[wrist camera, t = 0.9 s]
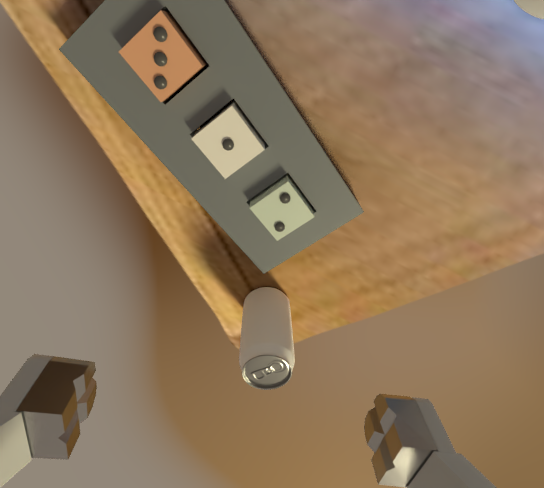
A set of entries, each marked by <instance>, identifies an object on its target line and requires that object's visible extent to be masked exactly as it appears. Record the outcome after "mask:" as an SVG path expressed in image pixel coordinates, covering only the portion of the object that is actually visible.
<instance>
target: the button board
mask: <svg viewBox="0 0 544 488" xmlns="http://www.w3.org/2000/svg"><path fill="white" fill-rule="evenodd" d="M160 10H162V11H165V12H170V13H171V14H172V15H173V17H174V18H175V19H176V21H177V22H178V23H179V25H180V26H181V27H182V29H183V30H184V32H185V33H186V34H187V36H188V37H189V38H190V40H191V41H192V42H193V44H194V45H195V47H196V48H197V49H198V51H199V52H200V53H201V55H202V56H203V57H204V59H205V60H206V61H207V63H208V64H209V67H208V68H207V69H206V70H204V71H203V72H202V73H201V74H200V75H199V76H198V77H196V78H195V79H194V80H193V81H192V82H191V83H190V84H188V85H187V86H186V87H185V88H184V89H183V90H182V91H180V92H179V93H178V94H177V95H176V96H175V97H174V98H172V99H171V98H170V97H169V98H168V99H166V100H165V101H163V102H160V101H159V100H158V99H157V97H156V96H155V95H154V94H153V93H152V91H151V90H150V89H149V88H148V87H147V85H146V84H145V83H144V82H143V81H142V79H141V78H140V77H139V76H138V75H137V73H136V72H135V71H134V70H133V69H132V68H131V66H130V65H129V64H128V63H127V62H126V60H125V59H124V58H123V57H122V56H121V54H120V53H119V51H120V50H121V49H122V48H123V47H124V46H125V45H126V44H127V43H128V42H129V41H130V40H131V39H132V38H133V37H134V36H135V35H136V34H137V33H138V32H139V31H140V30H141V29H142V28H143V27H144V26H145V25H146V24H147V23H148V22H149V21H150V20H151V19H152V18H153V17H154V16H155V15H156V14H157V13H158V12H159V11H160ZM59 50H60V51H61V52H62V53H63V54H64V55H65V57H66V58H67V59H68V60H69V61H70V62H71V63H72V64H73V65H74V66H75V67H76V69H77V70H78V71H79V72H80V73H81V74H82V75H83V76H84V77H85V78H86V80H87V81H88V82H89V83H90V84H91V85H92V86H93V87H94V88H95V89H96V91H97V92H98V93H99V94H100V95H101V96H102V97H103V98H104V99H105V100H106V101H107V103H108V104H109V105H110V106H111V107H112V108H113V109H114V110H115V111H116V112H117V114H118V115H119V116H120V117H121V118H122V119H123V120H124V121H125V122H126V123H127V124H128V126H129V127H130V128H131V129H132V130H133V131H134V132H135V133H136V134H137V135H138V137H139V138H140V139H141V140H142V141H143V142H144V143H145V144H146V145H147V146H148V148H149V149H150V150H151V151H152V152H153V153H154V154H155V155H156V156H157V157H158V158H159V160H160V161H161V162H162V163H163V164H164V165H165V166H166V167H167V168H168V169H169V171H170V172H171V173H172V174H173V175H174V176H175V177H176V178H177V179H178V180H179V182H180V183H181V184H182V185H183V186H184V187H185V188H186V189H187V190H188V191H189V192H190V194H191V195H192V196H193V197H194V198H195V199H196V200H197V201H198V202H199V203H200V205H201V206H202V207H203V208H204V209H205V210H206V211H207V212H208V213H209V214H210V216H211V217H212V218H213V219H214V220H215V221H216V222H217V223H218V224H219V225H220V226H221V228H222V229H223V230H224V231H225V232H226V233H227V234H228V235H229V236H230V237H231V239H232V240H233V241H234V242H235V243H236V244H237V245H238V246H239V247H240V248H241V250H242V251H243V252H244V253H245V254H246V255H247V256H248V257H249V258H250V259H251V260H252V262H253V263H254V264H255V265H256V266H257V267H258V268H259V269H260V270H261V271H262V273H263V274H264V273H266V272H268V271H269V270H271V269H272V268H274V267H276V266H277V265H279V264H281V263H282V262H284V261H285V260H287V259H289V258H290V257H292V256H293V255H295V254H297V253H298V252H300V251H302V250H303V249H305V248H306V247H308V246H310V245H311V244H313V243H315V242H316V241H318V240H319V239H321V238H323V237H324V236H326V235H328V234H329V233H331V232H332V231H334V230H336V229H337V228H339V227H341V226H342V225H344V224H345V223H347V222H349V221H350V220H352V219H354V218H355V217H357V216H358V215H360V214H362V213H363V212H364V211H363V210H362V208H361V206H360V204H359V203H358V201H357V200H356V198H355V196H354V195H353V193H352V192H351V190H350V189H349V187H348V186H347V184H346V183H345V181H344V180H343V178H342V177H341V175H340V174H339V172H338V171H337V169H336V168H335V166H334V165H333V163H332V162H331V160H330V159H329V157H328V155H327V154H326V152H325V151H324V149H323V148H322V146H321V145H320V143H319V142H318V140H317V139H316V137H315V136H314V134H313V133H312V131H311V130H310V128H309V127H308V125H307V124H306V122H305V121H304V119H303V118H302V116H301V114H300V113H299V111H298V110H297V108H296V107H295V105H294V104H293V102H292V101H291V99H290V98H289V96H288V95H287V93H286V92H285V90H284V89H283V87H282V86H281V84H280V83H279V81H278V80H277V78H276V77H275V75H274V73H273V72H272V70H271V69H270V67H269V66H268V64H267V63H266V61H265V60H264V58H263V57H262V55H261V54H260V52H259V51H258V49H257V48H256V46H255V45H254V43H253V42H252V40H251V39H250V37H249V36H248V34H247V32H246V31H245V29H244V28H243V26H242V25H241V23H240V22H239V20H238V19H237V17H236V16H235V14H234V13H233V11H232V10H231V8H230V7H229V5H228V4H227V2H226V1H225V0H105V1H104V2H103V3H102V4H101V5H100V6H99V7H98V8H97V9H96V10H95V11H94V12H93V14H92V15H91V16H90V17H89V18H88V19H87V20H86V21H85V22H84V23H83V24H82V25H81V26H80V27H79V28H78V29H77V31H76V32H75V33H74V34H73V35H72V36H71V37H70V38H69V39H68V40H67V41H66V42H65V43H64V44H63V45H62V46H61V48H60V49H59ZM232 99H234V100H235V101H236V102H237V104H238V105H239V106H240V108H241V109H242V110H243V112H244V113H245V115H246V116H247V117H248V119H249V120H250V121H251V123H252V124H253V125H254V127H255V128H256V130H257V131H258V132H259V134H260V135H261V136H262V138H263V139H264V140H265V150H264V151H262V152H261V153H260V154H258V155H257V156H256V157H254V158H253V159H252V160H250V161H249V162H248V163H246V164H245V165H244V166H242V167H241V168H239V169H238V170H237V171H235V172H234V173H233V174H231V175H230V176H229V177H227V178H226V179H225V178H224V177H223V176H222V175H221V174H220V172H219V171H218V170H217V169H216V168H215V166H214V165H213V164H212V163H211V162H210V161H209V159H208V158H207V157H206V156H205V155H204V153H203V152H202V151H201V150H200V149H199V147H198V146H197V145H196V144H195V143H194V141H193V140H192V139H191V138H192V137H193V136H194V134H195V133H196V132H197V130H196V129H197V128H198V127H199V126H201V125H202V124H203V123H204V122H205V121H207V120H208V119H209V118H210V117H212V116H213V115H214V114H215V113H216V112H218V111H219V110H220V109H221V108H223V107H224V106H225V105H226V104H227V103H229V102H230V101H231V100H232ZM287 173H289V174H290V176H291V177H292V178H293V180H294V181H295V183H296V184H297V185H298V187H299V188H300V189H301V191H302V192H303V193H304V195H305V196H306V198H307V199H308V200H309V202H310V204H311V206H312V209H313V212H314V216H315V217H314V218H312V219H311V220H309V221H308V222H306V223H305V224H303V225H301V226H300V227H298V228H297V229H295V230H294V231H292V232H291V233H289V234H287V235H286V236H284V237H283V238H281V239H280V240H278V241H277V240H276V239H275V238H274V237H273V236H272V234H271V233H270V232H269V231H268V230H267V228H266V227H265V226H264V225H263V224H262V222H261V221H260V220H259V219H258V218H257V217H256V215H255V214H254V213H253V212H252V211H251V209H250V199H251V198H253V197H254V196H255V195H257V194H258V193H260V192H261V191H263V190H264V189H265V188H267V187H268V186H270V185H271V184H273V183H274V182H275V181H277V180H278V179H280V178H281V177H283V176H284V175H285V174H287Z"/></svg>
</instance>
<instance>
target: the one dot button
mask: <svg viewBox="0 0 544 488" xmlns="http://www.w3.org/2000/svg"><path fill="white" fill-rule="evenodd" d="M191 139H192V140H193V141H194V143H195V144H196V145H197V146H198V147H199V149H200V150H201V151H202V152H203V153H204V155H205V156H206V157H207V158H208V159H209V161H210V162H211V163H212V164H213V165H214V166H215V168H216V169H217V170H218V171H219V172H220V174H221V175H222V176H223V177H224V178H225V179H226V178H227V177H229V176H230V175H231V174H233V173H234V172H235V171H237V170H238V169H239V168H241V167H242V166H244V165H245V164H246V163H248V162H249V161H250V160H252V159H253V158H254V157H256V156H257V155H258V154H260V153H261V152H262V151H264V150H265V142H264V140H263V139H262V138H261V136H260V135H259V134H258V132H257V131H256V129H255V128H254V127H253V125H252V124H251V123H250V121H249V120H248V119H247V117H246V116H245V115H244V113H243V112H242V110H241V109H240V108H239V106H238V105H237V104H236V102H235V101H234V102H232V103H231V104H230V105H229V106H227V107H226V108H225V109H224V110H222V111H221V112H220V113H219V114H218V115H216V116H215V117H214V118H213V119H211V120H210V121H209V122H208V123H207V124H205V125H204V126H203V127H202V128H200V129H199V130H198V131H197V132H196V133H195V134H194V136H193V137H192V138H191Z"/></svg>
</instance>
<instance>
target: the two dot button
mask: <svg viewBox="0 0 544 488" xmlns="http://www.w3.org/2000/svg"><path fill="white" fill-rule="evenodd" d="M250 209H251V211H252V212H253V213H254V214H255V215H256V217H257V218H258V219H259V220H260V221H261V222H262V224H263V225H264V226H265V227H266V228H267V230H268V231H269V232H270V233H271V234H272V236H273V237H274V238H275V239H276V240H277V241H278V240H280V239H281V238H283V237H284V236H286V235H287V234H289V233H291V232H292V231H294V230H295V229H297V228H298V227H300V226H301V225H303V224H305V223H306V222H308V221H309V220H311V219H312V218H314V217H315V216H314V212H313V209H312V206H311V204H310V203H309V201H308V200H307V199H306V197H305V196H304V195H303V193H302V192H301V191H300V189H299V188H298V186H297V185H296V184H295V182H294V181H293V180H292V178H291V177H290V176H289V174H288V173H287V174H285V175H284V176H283V177H281V178H280V179H278V180H277V181H275V182H274V183H273V184H271V185H270V186H268V187H267V188H265V189H264V190H263V191H261V192H260V193H258V194H257V195H255V196H254V197H253V198H251V199H250Z"/></svg>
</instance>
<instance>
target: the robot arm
mask: <svg viewBox="0 0 544 488" xmlns="http://www.w3.org/2000/svg"><path fill="white" fill-rule="evenodd" d="M514 1H515V3H516V4H517V5H518V6H519V7H520V8H521V9H523V10H524V11H525V12H527V13H528V14H530V15H532V16H534V17H537V18H540V19H544V0H514ZM95 371H96V368H95V362H90V361H82V360H76V359H69V358H61V357H54V356H46V355H38V354H34V355H32V356H31V357H30V358H28V359H27V361H26V362H25V363H24V365H23V366H22V368H21V369H20V370H19V371H18V373H17V374H16V375H15V377H14V378H13V379H12V381H11V382H10V384H9V385H8V386H7V388H6V389H5V390H4V392H3V393H2V394H1V396H0V487H2V486H3V484H5V483H6V482H7V481H8V480H10V479H11V478H12V477H13V476H14V475H15V474H16V473H17V472H19V471H20V470H21V469H22V468H23V467H24V466H25V465H27V464H28V463H29V462H30V461H31V460H32V458H49V459H50V458H51V459H69V457H70V455H71V452H72V450H73V448H74V446H75V444H76V442H77V439H78V438H79V435H80V426H79V424H80V423H81V422H83V421H84V420H85V419H87V418H88V416H89V414H90V411H91V409H92V407H93V403H94V399H95V396H96V389H97V385H96V381H95V380H94V379H93V378H92V377H93V375H94V373H95ZM374 404H375V408H373V409H371V410H370V411H368V414H367V416H366V418H365V425H364V430H365V437H366V441H367V444H368V446H369V447H370V448H371V449H372V450H373V451H374V455H373V457H372V464H373V467H374V471H375V475H376V478H377V482H378V484H380V485H388V486H397V487H406V488H496V487H495V486H494V485H493V484H492V483H491V482H490V481H489V480H488V479H487V478H486V477H485V476H484V475H483V474H481V472H479V471H478V470H477V469H476V468H475V467H474V466H473V465H472V464H471V463H470V462H469V461H468V460H467V459H466V458H465V457H464V456H463V455H462V454H458V453H456V452H455V450H454V448H453V446H452V444H451V441H450V439H449V437H448V435H447V433H446V431H445V429H444V427H443V425H442V423H441V421H440V419H439V417H438V415H437V413H436V411H435V409H434V406H433V404H432V403H431V402H430V401H429V400H428V399H422V398H413V397H412V398H411V397H407V396H397V395H387V394H379V395H377V396H376V398H375V400H374Z"/></svg>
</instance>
